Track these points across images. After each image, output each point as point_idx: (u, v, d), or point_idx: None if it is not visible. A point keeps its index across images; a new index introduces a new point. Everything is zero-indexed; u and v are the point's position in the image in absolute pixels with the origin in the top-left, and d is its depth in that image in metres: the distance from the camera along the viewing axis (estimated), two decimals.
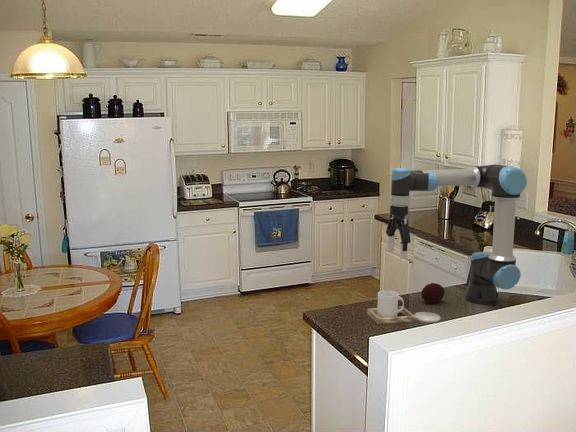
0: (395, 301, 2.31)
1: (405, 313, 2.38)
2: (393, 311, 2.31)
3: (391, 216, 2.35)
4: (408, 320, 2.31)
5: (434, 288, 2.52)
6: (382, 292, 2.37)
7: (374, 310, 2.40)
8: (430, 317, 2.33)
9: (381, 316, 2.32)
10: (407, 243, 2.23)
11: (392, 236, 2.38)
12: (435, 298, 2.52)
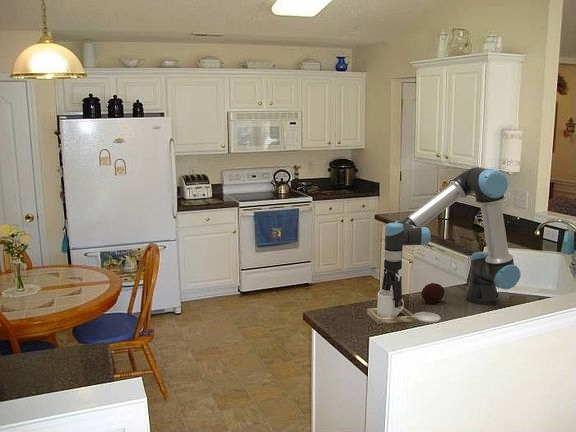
0: None
1: (405, 313, 2.38)
2: None
3: (385, 270, 2.38)
4: (408, 320, 2.31)
5: (434, 288, 2.52)
6: (382, 292, 2.37)
7: (374, 310, 2.40)
8: (430, 317, 2.33)
9: (381, 316, 2.32)
10: None
11: None
12: (435, 298, 2.52)
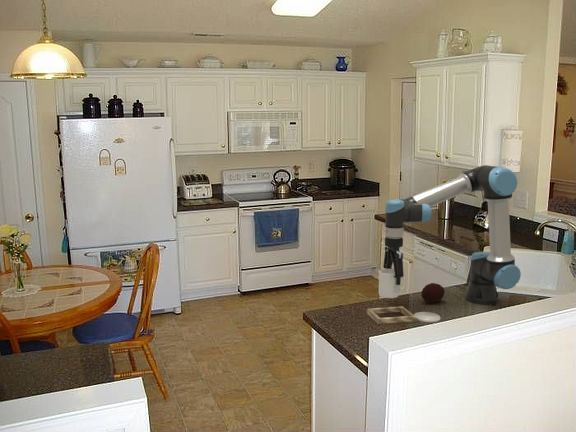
0: None
1: (405, 313, 2.38)
2: None
3: (386, 248, 2.37)
4: (408, 320, 2.31)
5: (434, 288, 2.52)
6: (383, 270, 2.36)
7: (374, 310, 2.40)
8: (430, 317, 2.33)
9: (382, 294, 2.31)
10: (400, 277, 2.27)
11: None
12: (435, 298, 2.52)
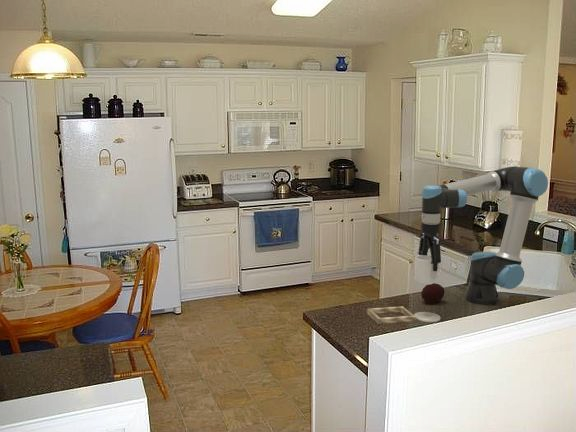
0: None
1: (405, 313, 2.38)
2: None
3: (422, 235, 2.35)
4: (408, 320, 2.31)
5: (434, 288, 2.52)
6: (419, 257, 2.34)
7: (374, 310, 2.40)
8: (430, 317, 2.33)
9: (419, 280, 2.29)
10: (437, 263, 2.25)
11: None
12: (435, 298, 2.52)
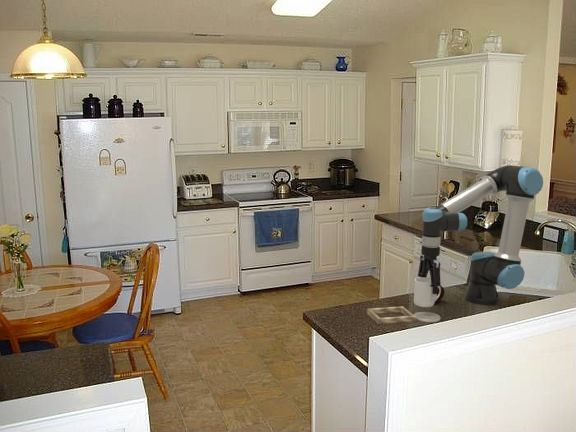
0: None
1: (405, 313, 2.38)
2: None
3: (422, 257, 2.36)
4: (408, 320, 2.31)
5: None
6: (419, 279, 2.36)
7: (374, 310, 2.40)
8: (430, 317, 2.33)
9: (418, 302, 2.31)
10: (437, 286, 2.27)
11: None
12: None
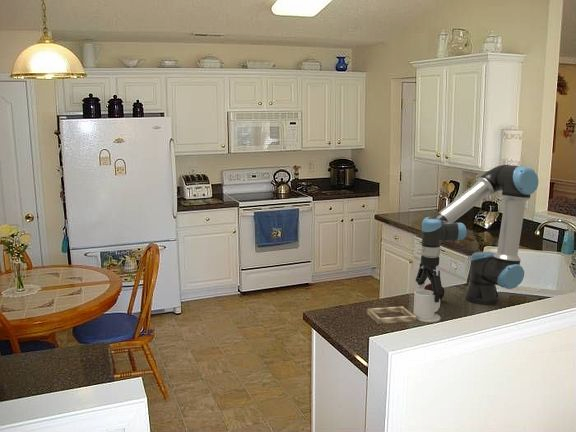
0: None
1: (405, 313, 2.38)
2: (430, 310, 2.30)
3: (421, 265, 2.37)
4: (408, 320, 2.31)
5: None
6: (418, 291, 2.37)
7: (374, 310, 2.40)
8: None
9: (418, 315, 2.32)
10: (439, 294, 2.25)
11: (422, 284, 2.40)
12: None
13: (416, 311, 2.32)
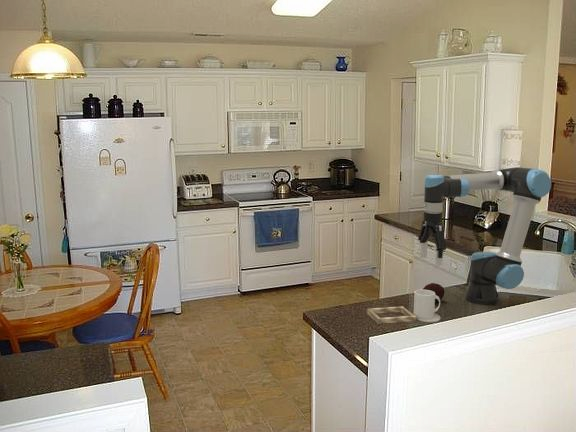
0: (432, 300, 2.30)
1: (405, 313, 2.38)
2: (430, 310, 2.30)
3: (424, 223, 2.35)
4: (408, 320, 2.31)
5: (434, 288, 2.52)
6: (418, 291, 2.37)
7: (374, 310, 2.40)
8: None
9: (418, 315, 2.32)
10: (442, 250, 2.23)
11: None
12: None
13: (416, 311, 2.32)
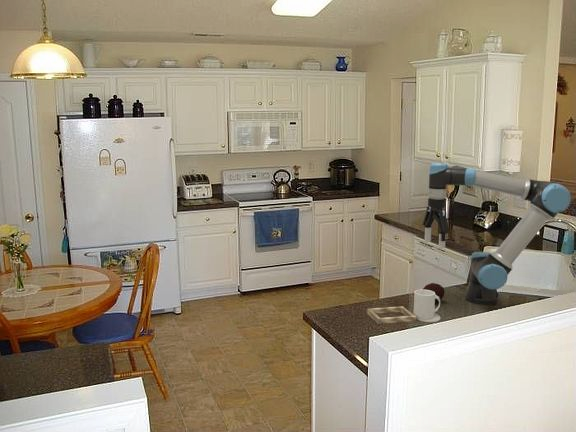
0: (432, 300, 2.30)
1: (405, 313, 2.38)
2: (430, 310, 2.30)
3: (428, 208, 2.49)
4: (408, 320, 2.31)
5: (434, 288, 2.52)
6: (418, 291, 2.37)
7: (374, 310, 2.40)
8: None
9: (418, 315, 2.32)
10: (445, 233, 2.37)
11: None
12: None
13: (416, 311, 2.32)
